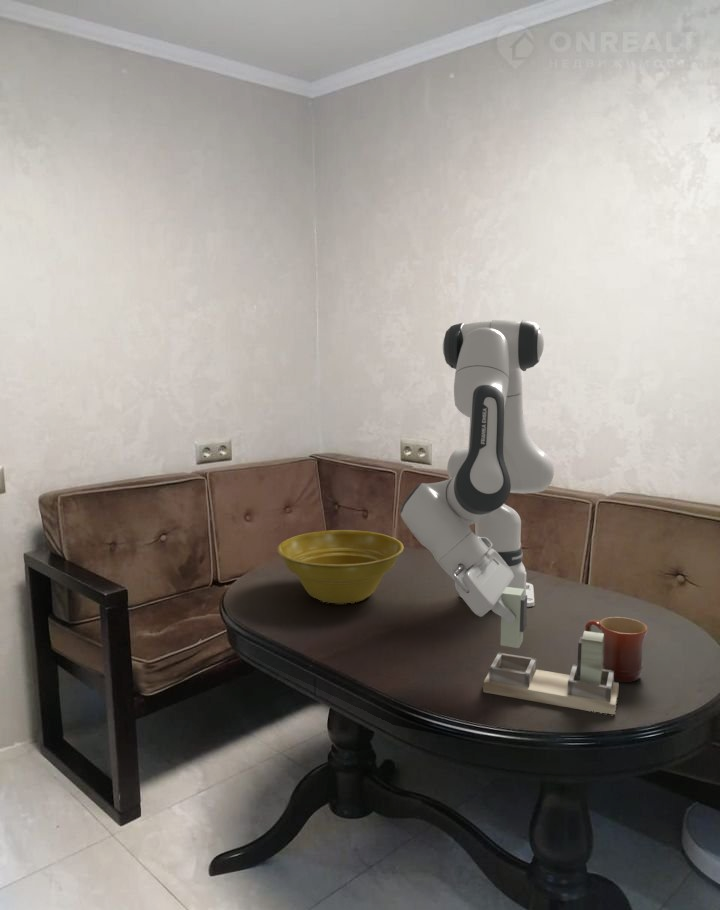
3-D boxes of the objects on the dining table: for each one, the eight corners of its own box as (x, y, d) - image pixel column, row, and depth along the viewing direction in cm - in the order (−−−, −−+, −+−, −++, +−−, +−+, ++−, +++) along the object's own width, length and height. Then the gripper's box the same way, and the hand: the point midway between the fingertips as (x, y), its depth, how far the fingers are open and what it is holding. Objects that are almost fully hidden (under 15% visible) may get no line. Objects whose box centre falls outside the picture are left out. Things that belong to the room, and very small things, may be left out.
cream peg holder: (494, 672, 142) (495, 613, 140) (618, 693, 133) (621, 630, 131) (483, 692, 134) (484, 630, 132) (614, 715, 125) (618, 649, 123)
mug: (653, 675, 140) (655, 625, 139) (632, 690, 134) (635, 637, 132) (595, 657, 148) (597, 609, 147) (573, 670, 142) (575, 620, 141)
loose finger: (504, 637, 137) (506, 586, 136) (526, 640, 136) (527, 589, 134) (500, 645, 134) (501, 593, 132) (522, 648, 132) (523, 595, 131)
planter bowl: (371, 627, 165) (371, 570, 164) (253, 606, 179) (252, 553, 177) (421, 585, 194) (422, 537, 192) (316, 570, 208) (316, 525, 206)
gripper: (462, 562, 126) (517, 624, 123) (489, 535, 144) (537, 589, 142) (437, 584, 128) (491, 645, 125) (467, 555, 147) (514, 608, 144)
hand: (516, 615), depth 134 cm, fingers closed on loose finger, 4 cm apart
